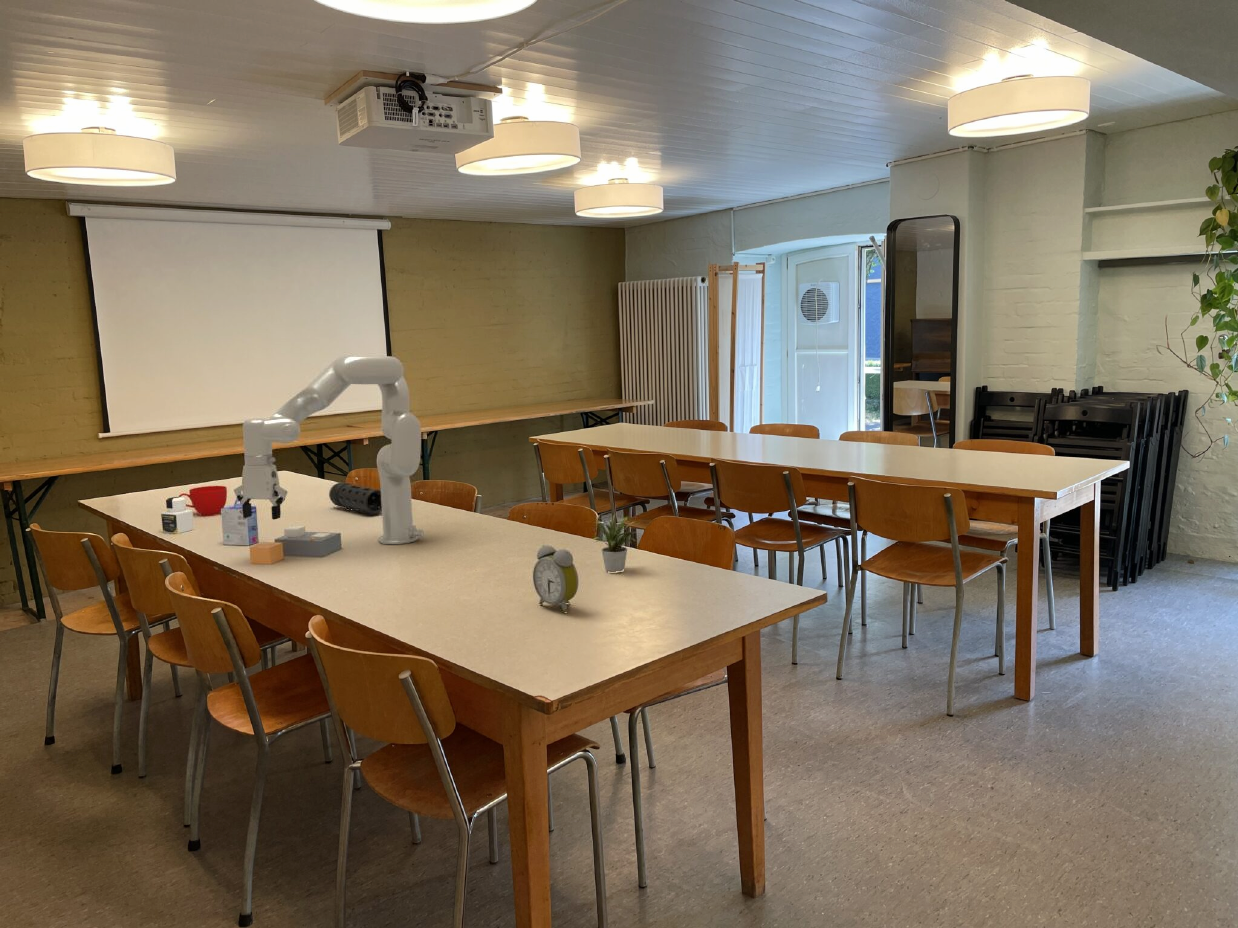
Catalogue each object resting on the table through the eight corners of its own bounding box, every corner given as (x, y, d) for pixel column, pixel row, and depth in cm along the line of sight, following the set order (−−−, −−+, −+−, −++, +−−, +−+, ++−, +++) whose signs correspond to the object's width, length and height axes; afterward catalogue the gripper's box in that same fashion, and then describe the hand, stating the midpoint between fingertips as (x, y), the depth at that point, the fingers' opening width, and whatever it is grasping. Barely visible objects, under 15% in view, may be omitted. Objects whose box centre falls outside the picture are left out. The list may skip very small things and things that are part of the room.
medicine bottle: (162, 532, 301) (159, 498, 299) (179, 528, 308) (176, 495, 306) (177, 534, 298) (174, 500, 297) (194, 529, 305) (191, 496, 303)
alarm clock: (532, 605, 211) (530, 545, 209) (553, 599, 216) (552, 540, 213) (563, 615, 203) (562, 553, 200) (585, 609, 207) (583, 548, 205)
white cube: (305, 538, 272) (304, 526, 271) (297, 542, 268) (296, 529, 267) (293, 538, 273) (292, 525, 272) (285, 541, 269) (284, 529, 268)
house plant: (592, 580, 231) (590, 521, 229) (580, 567, 245) (579, 511, 242) (642, 576, 235) (642, 517, 233) (628, 563, 248) (627, 507, 246)
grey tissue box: (341, 548, 273) (340, 531, 272) (322, 557, 263) (320, 539, 262) (296, 546, 277) (295, 529, 276) (275, 555, 266) (274, 537, 265)
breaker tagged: (331, 545, 270) (331, 533, 269) (324, 549, 266) (323, 536, 265) (319, 545, 271) (318, 533, 270) (311, 548, 267) (310, 536, 266)
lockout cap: (283, 558, 261) (282, 542, 261) (270, 564, 255) (268, 547, 254) (264, 557, 263) (263, 541, 262) (250, 563, 257) (249, 547, 256)
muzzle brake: (366, 518, 319) (364, 491, 318) (327, 509, 338) (326, 483, 337) (388, 514, 326) (387, 487, 324) (350, 505, 345) (348, 480, 343)
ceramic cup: (180, 513, 334) (178, 488, 332) (228, 509, 341) (226, 484, 339) (179, 520, 322) (176, 493, 321) (229, 515, 329) (226, 489, 328)
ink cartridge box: (260, 542, 284) (256, 498, 282) (249, 546, 279) (246, 502, 277) (233, 541, 286) (229, 498, 284) (222, 545, 281) (218, 501, 279)
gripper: (292, 460, 256) (295, 516, 258) (241, 458, 260) (244, 514, 262) (276, 463, 249) (279, 521, 251) (224, 461, 253) (228, 519, 255)
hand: (261, 517), depth 257 cm, fingers open, 9 cm apart
